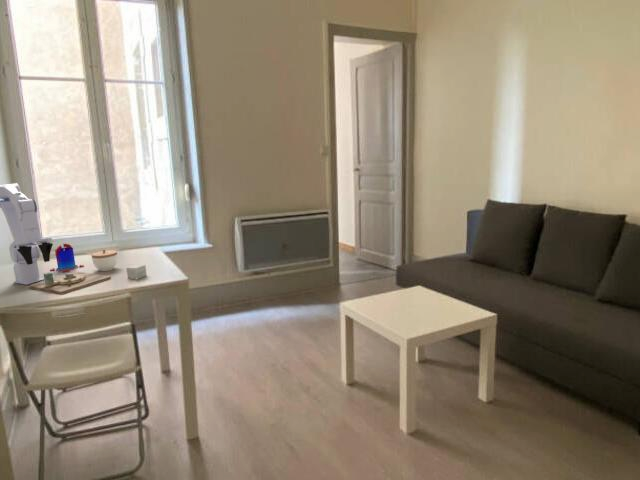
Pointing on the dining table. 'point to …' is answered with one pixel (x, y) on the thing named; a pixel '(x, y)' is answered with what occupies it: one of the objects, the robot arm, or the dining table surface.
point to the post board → (70, 286)
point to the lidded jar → (105, 260)
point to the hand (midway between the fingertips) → (38, 262)
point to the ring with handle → (61, 279)
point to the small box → (136, 271)
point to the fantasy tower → (65, 259)
